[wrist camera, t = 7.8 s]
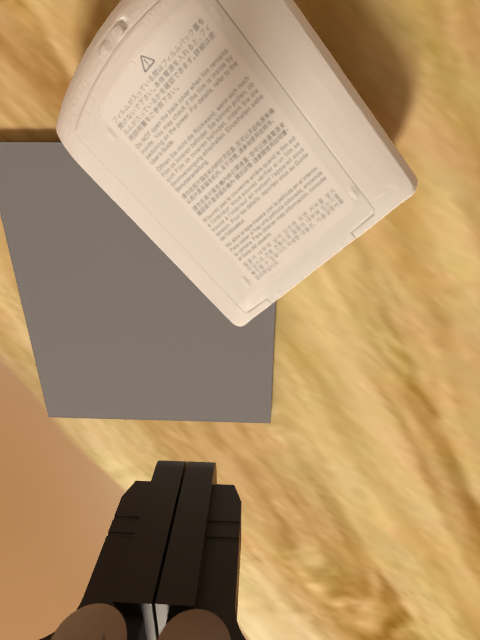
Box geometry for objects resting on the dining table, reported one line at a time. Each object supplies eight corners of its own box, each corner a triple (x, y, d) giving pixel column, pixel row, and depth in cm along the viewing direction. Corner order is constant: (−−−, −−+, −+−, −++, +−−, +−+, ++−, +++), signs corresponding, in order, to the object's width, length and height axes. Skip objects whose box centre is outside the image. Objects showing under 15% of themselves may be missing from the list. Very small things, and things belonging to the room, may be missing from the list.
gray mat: (282, 142, 19) (282, 143, 19) (270, 418, 26) (270, 423, 26) (-11, 141, 20) (-17, 141, 19) (52, 412, 27) (48, 417, 26)
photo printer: (404, 173, 19) (220, -81, 16) (439, 184, 15) (203, -149, 12) (240, 307, 23) (60, 121, 19) (234, 345, 19) (6, 120, 15)
